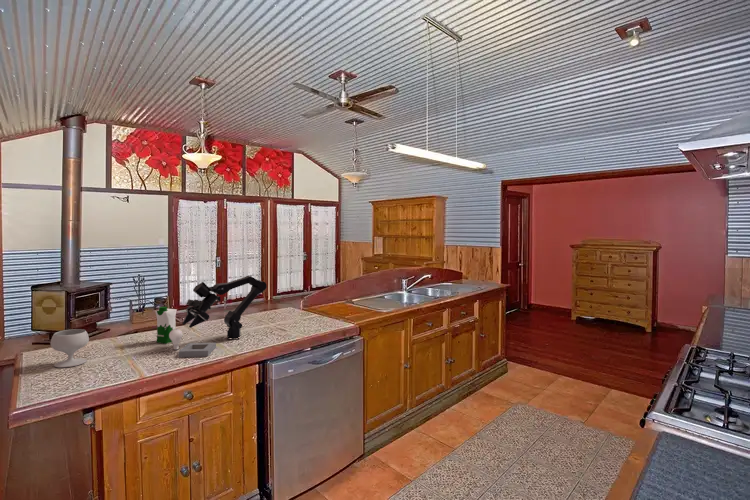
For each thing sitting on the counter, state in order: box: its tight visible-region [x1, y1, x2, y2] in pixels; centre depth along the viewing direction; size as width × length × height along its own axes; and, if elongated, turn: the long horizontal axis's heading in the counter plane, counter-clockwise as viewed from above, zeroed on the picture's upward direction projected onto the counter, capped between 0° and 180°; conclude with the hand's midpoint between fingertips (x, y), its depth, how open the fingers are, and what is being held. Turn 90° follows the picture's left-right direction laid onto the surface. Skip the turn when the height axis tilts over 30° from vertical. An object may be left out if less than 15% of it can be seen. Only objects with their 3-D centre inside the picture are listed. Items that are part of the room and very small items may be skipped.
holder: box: [177, 342, 217, 358], centre depth 197 cm, size 14×14×3 cm
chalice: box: [50, 328, 90, 368], centre depth 179 cm, size 14×14×15 cm
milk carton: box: [154, 306, 178, 345], centre depth 216 cm, size 9×9×20 cm
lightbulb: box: [169, 328, 184, 351], centre depth 201 cm, size 6×6×11 cm
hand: (186, 325), depth 205 cm, fingers open, 9 cm apart
